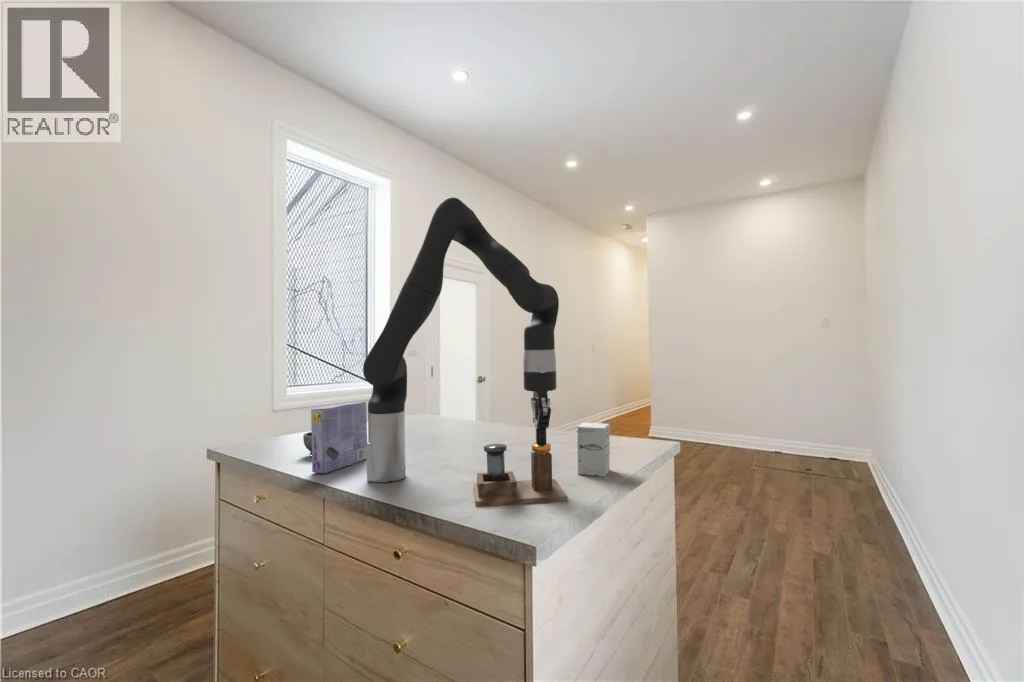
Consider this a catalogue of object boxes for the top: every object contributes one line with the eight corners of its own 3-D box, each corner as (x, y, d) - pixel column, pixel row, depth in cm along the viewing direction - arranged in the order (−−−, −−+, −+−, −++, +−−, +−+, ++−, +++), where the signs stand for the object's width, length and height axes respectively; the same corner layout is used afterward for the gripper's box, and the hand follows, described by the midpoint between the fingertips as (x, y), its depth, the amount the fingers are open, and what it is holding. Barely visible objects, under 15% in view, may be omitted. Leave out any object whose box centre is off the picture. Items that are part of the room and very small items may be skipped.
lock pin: (533, 491, 104) (533, 447, 104) (530, 485, 108) (530, 442, 108) (553, 490, 104) (552, 446, 104) (549, 484, 109) (548, 442, 109)
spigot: (486, 494, 102) (484, 449, 102) (484, 487, 107) (483, 444, 107) (509, 493, 103) (507, 448, 103) (506, 485, 108) (505, 443, 108)
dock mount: (475, 506, 98) (474, 463, 98) (473, 487, 111) (473, 449, 111) (567, 500, 100) (566, 459, 100) (555, 483, 113) (554, 446, 113)
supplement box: (576, 474, 120) (576, 426, 120) (583, 467, 127) (582, 421, 127) (605, 477, 117) (604, 427, 117) (610, 470, 124) (609, 423, 124)
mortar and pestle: (321, 459, 140) (321, 420, 140) (296, 458, 143) (296, 419, 143) (345, 451, 151) (345, 414, 151) (322, 449, 154) (321, 413, 154)
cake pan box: (357, 457, 143) (357, 400, 143) (371, 458, 141) (370, 400, 141) (310, 473, 125) (309, 408, 125) (324, 475, 123) (323, 409, 123)
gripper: (519, 368, 112) (521, 439, 112) (527, 371, 99) (529, 452, 99) (550, 367, 113) (551, 438, 113) (562, 370, 100) (563, 450, 100)
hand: (541, 444), depth 106 cm, fingers closed
